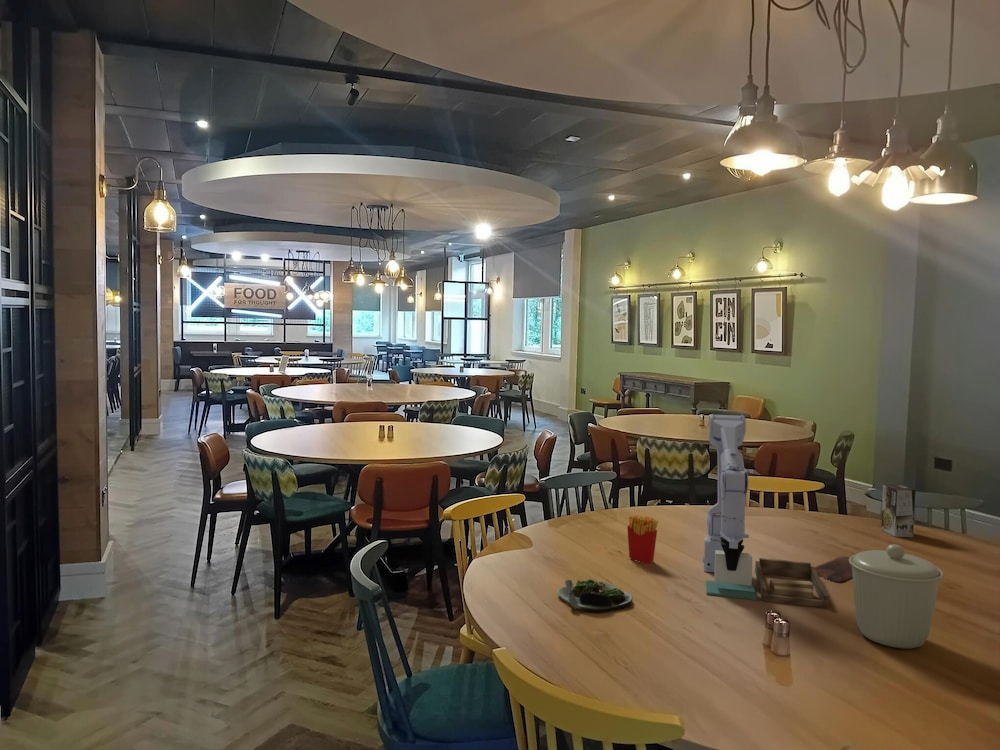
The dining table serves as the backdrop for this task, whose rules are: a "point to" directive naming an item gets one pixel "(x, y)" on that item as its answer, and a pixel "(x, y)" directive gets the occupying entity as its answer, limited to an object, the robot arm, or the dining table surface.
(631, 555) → the french fries
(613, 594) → the salad plate
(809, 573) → the rack
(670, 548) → the dining table surface
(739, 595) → the mat
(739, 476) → the robot arm
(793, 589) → the offcut block small
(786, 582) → the offcut block large
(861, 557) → the canister
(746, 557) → the grey sheet
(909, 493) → the coffee box
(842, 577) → the wooden tablet
